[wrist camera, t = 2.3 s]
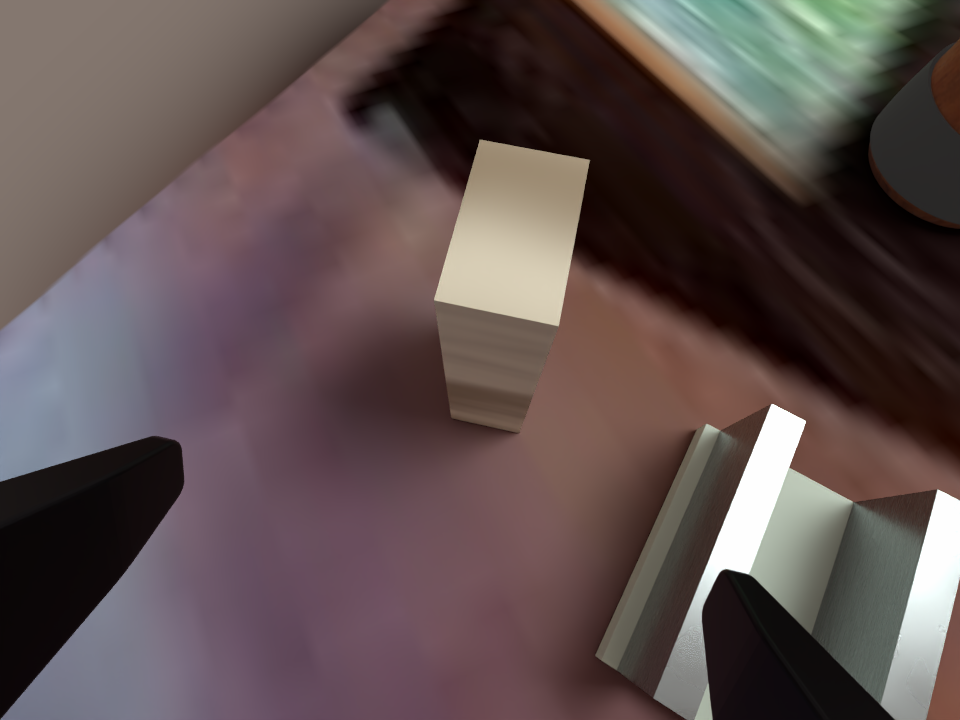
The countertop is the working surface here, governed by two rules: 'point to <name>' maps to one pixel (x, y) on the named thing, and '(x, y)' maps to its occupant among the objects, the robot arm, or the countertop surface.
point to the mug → (923, 142)
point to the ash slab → (506, 279)
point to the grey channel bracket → (789, 570)
